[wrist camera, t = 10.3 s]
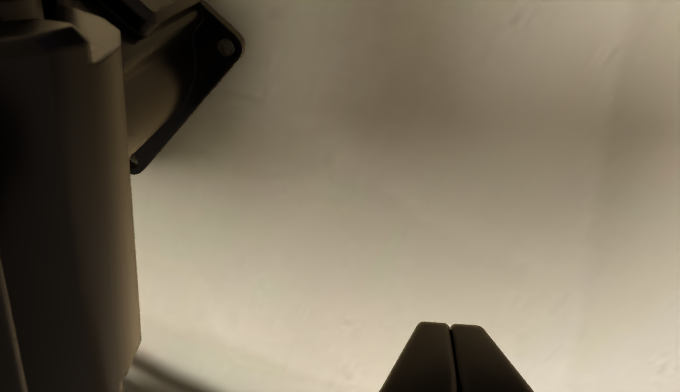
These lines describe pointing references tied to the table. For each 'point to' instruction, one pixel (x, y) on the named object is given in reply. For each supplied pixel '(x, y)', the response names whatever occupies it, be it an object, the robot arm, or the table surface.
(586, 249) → the table surface
